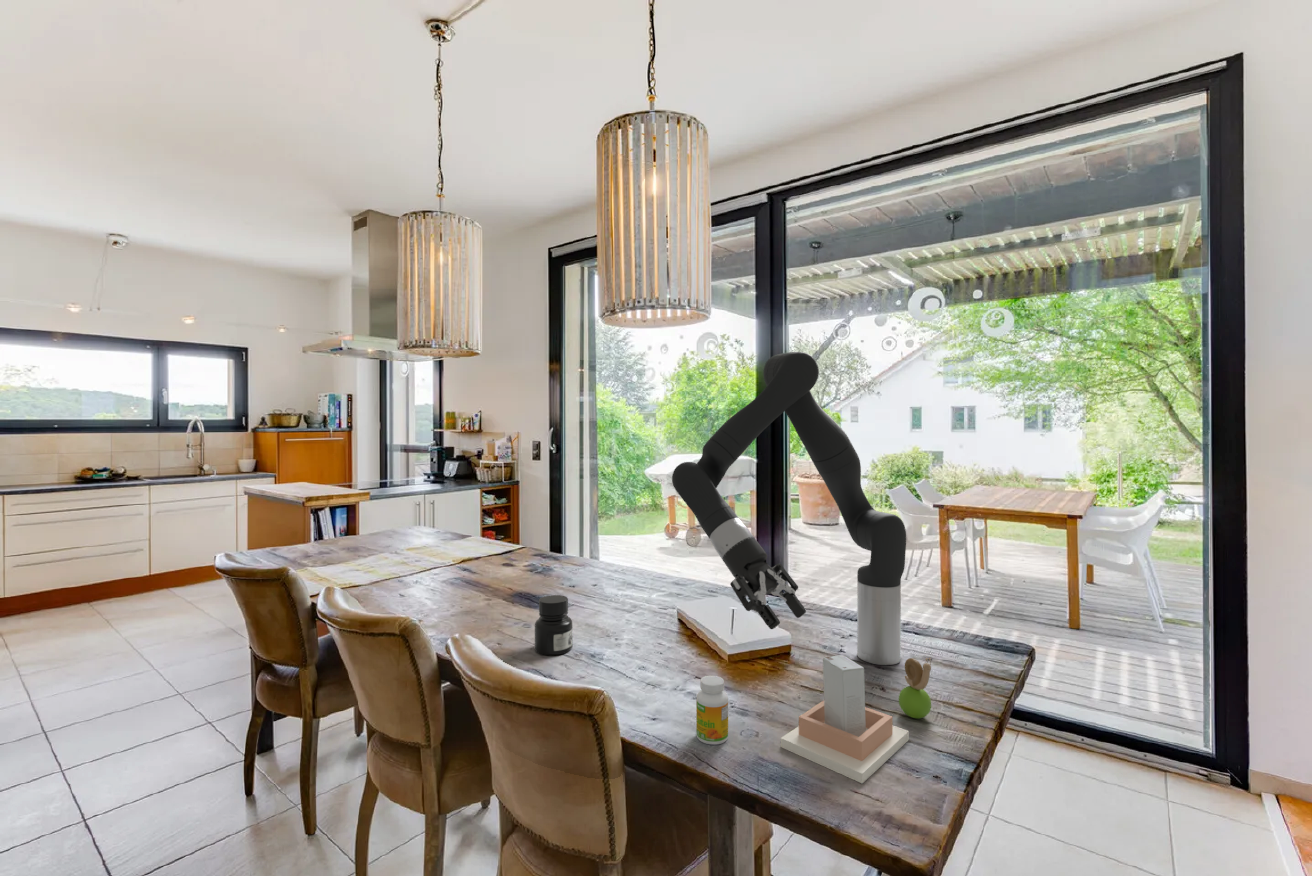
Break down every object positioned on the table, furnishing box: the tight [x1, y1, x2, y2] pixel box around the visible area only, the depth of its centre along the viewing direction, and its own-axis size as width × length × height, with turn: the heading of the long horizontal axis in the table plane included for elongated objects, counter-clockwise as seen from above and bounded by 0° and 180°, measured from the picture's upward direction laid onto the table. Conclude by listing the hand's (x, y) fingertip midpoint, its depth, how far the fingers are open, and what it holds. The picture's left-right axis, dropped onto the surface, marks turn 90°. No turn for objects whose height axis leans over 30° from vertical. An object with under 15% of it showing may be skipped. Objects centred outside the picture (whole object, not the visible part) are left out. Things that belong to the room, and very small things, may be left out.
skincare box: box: [822, 654, 866, 737], centre depth 97 cm, size 6×4×12 cm
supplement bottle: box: [695, 675, 729, 746], centre depth 99 cm, size 5×5×10 cm
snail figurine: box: [898, 657, 933, 719], centre depth 105 cm, size 5×6×12 cm
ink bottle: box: [534, 594, 574, 656], centre depth 139 cm, size 10×9×12 cm
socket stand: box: [780, 699, 910, 784], centre depth 97 cm, size 17×14×4 cm
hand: (789, 620), depth 104 cm, fingers open, 8 cm apart
